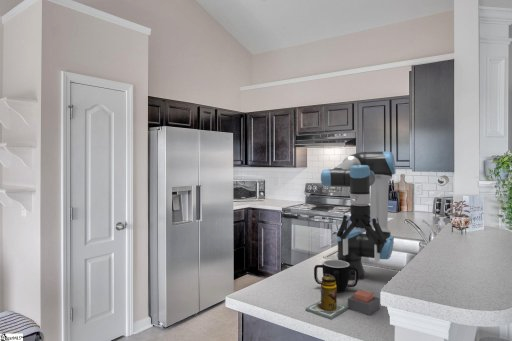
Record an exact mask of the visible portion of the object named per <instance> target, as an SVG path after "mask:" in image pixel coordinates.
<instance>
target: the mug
mask: <svg viewBox="0 0 512 341" xmlns="http://www.w3.org/2000/svg"><path fill="white" fill-rule="evenodd" d="M321 263H322V264H316V265H315V266H314V267H313V278H314V281H315V283H317V284H319V285H321V284H322V280H319V277H318V268H319V269H322V277H324V276H332V277H334V278H335V279H336V286H337V293H342V292H346V290H347V288H354V287H356V286H357V284H358V283H359V280H358V270H357V268H353V267H350V264H349V263H347V262H345V261H341V260H338V259H326V260H324V261H323V262H321ZM350 270H355V280H353V283H349V281H350V280H349V272H350Z"/></svg>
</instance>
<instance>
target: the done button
mask: <svg viewBox="0 0 512 341" xmlns="http://www.w3.org/2000/svg"><path fill="white" fill-rule="evenodd" d="M353 294H354V299H356V300H360V301H363V302H367V303H368V302H370V301H371V300H373V296H374V293H373V292H371V291H370V292H369V291H367V290H363V289H360V290H358V291H356V292H354V293H353Z"/></svg>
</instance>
